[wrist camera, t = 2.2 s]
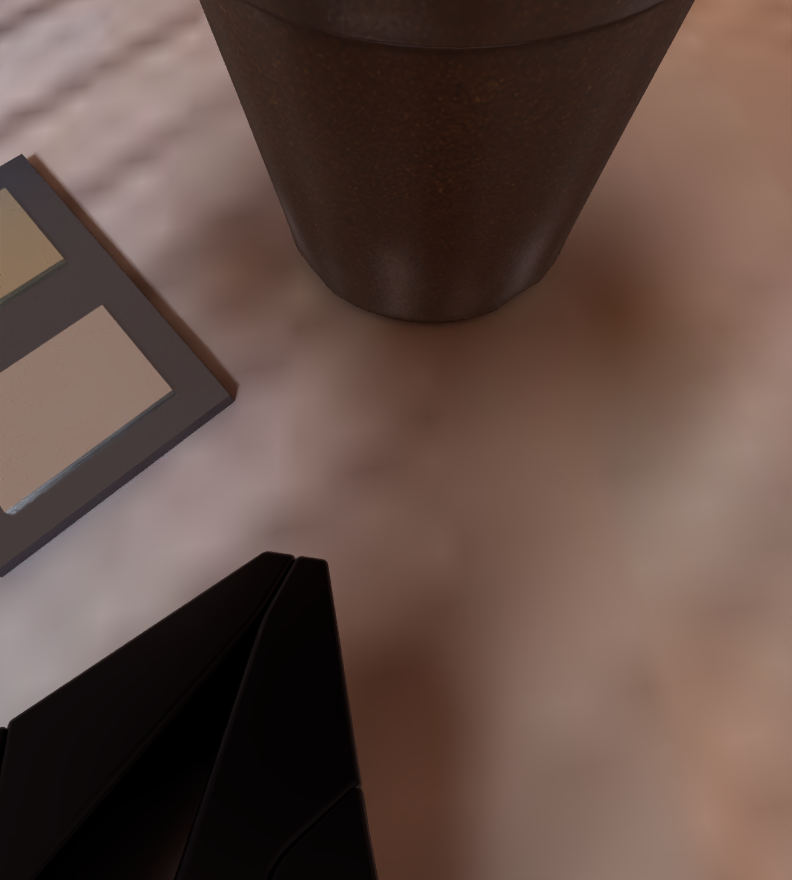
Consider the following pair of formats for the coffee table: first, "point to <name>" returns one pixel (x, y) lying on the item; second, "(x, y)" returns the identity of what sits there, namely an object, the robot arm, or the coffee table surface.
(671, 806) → the coffee table surface
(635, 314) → the coffee table surface
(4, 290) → the panel
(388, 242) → the plant pot
